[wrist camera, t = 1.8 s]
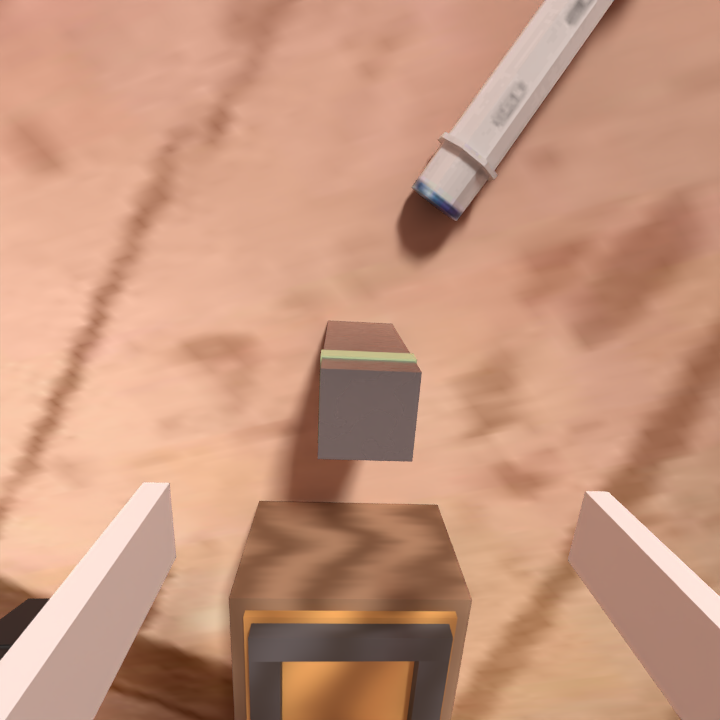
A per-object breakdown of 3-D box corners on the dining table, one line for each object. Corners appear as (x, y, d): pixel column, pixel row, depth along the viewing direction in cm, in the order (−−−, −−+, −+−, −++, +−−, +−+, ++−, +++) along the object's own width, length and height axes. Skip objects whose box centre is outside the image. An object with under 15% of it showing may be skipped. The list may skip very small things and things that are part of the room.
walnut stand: (437, 504, 36) (479, 620, 25) (419, 638, 41) (448, 785, 30) (259, 501, 35) (222, 619, 24) (261, 638, 40) (231, 789, 29)
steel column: (393, 322, 31) (423, 370, 20) (388, 384, 33) (413, 463, 21) (326, 319, 31) (318, 366, 19) (324, 382, 32) (315, 460, 21)
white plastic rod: (405, 179, 25) (775, -372, 16) (399, 181, 31) (666, -219, 22) (469, 229, 26) (850, -264, 17) (451, 222, 32) (726, -146, 23)
